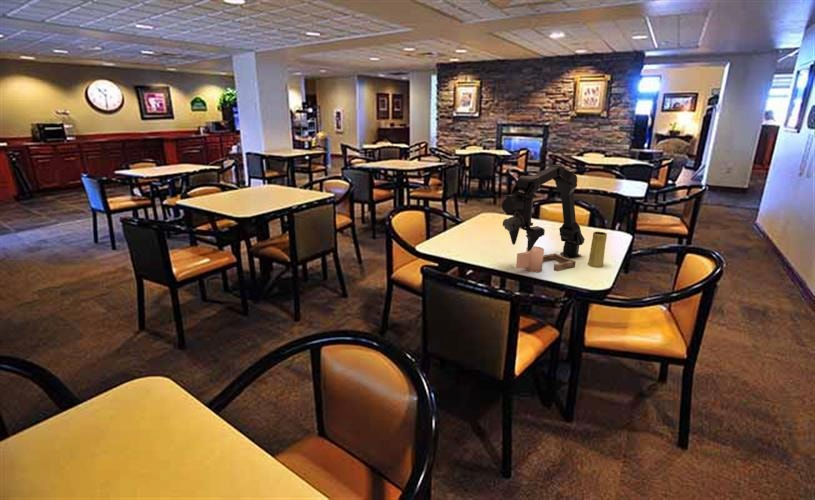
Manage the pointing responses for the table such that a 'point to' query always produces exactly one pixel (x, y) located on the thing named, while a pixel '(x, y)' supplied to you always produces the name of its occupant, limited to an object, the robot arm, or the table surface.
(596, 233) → the vase
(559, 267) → the walnut holder
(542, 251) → the pink block
